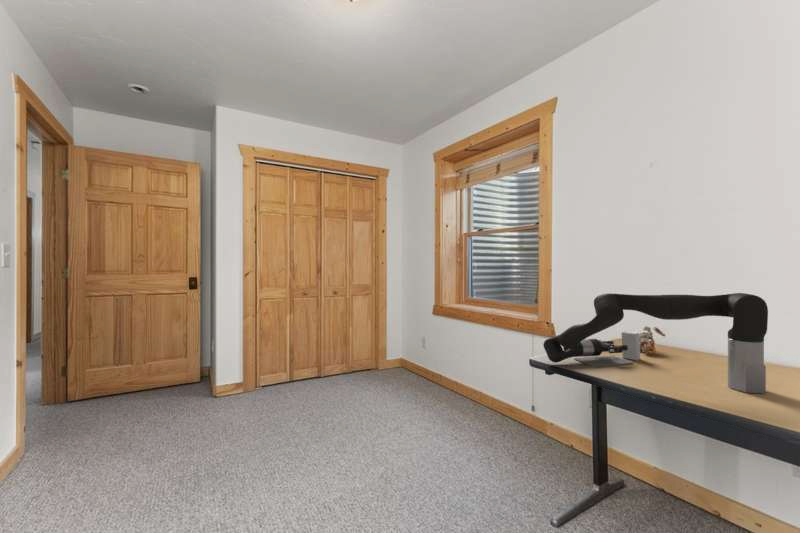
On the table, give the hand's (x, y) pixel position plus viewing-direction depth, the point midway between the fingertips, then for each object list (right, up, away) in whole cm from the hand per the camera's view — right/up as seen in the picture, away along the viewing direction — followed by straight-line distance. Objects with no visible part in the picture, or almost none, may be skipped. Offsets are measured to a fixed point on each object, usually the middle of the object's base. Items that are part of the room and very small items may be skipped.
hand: (619, 345), depth 168 cm
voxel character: (+22, -6, +11) cm, 25 cm away
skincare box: (+6, -6, +1) cm, 9 cm away
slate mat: (-9, -7, -3) cm, 12 cm away
